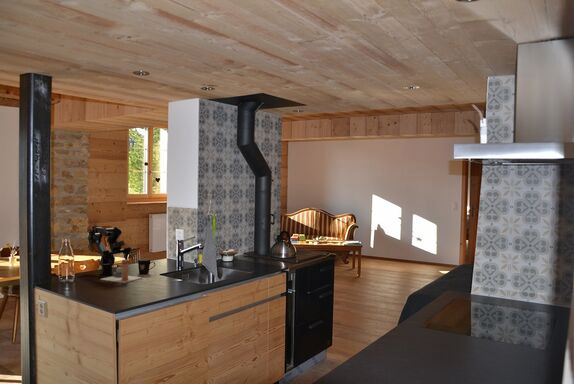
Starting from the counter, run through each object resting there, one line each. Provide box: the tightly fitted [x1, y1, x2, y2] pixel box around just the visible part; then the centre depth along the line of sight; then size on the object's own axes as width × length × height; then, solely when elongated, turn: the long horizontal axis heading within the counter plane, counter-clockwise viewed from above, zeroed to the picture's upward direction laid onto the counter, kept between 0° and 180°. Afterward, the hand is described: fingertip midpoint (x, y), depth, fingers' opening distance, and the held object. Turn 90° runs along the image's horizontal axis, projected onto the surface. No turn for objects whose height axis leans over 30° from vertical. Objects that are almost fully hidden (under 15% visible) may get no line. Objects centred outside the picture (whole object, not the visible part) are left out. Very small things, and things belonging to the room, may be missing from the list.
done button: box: [115, 266, 122, 273], centre depth 316 cm, size 4×4×4 cm
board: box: [100, 271, 143, 284], centre depth 310 cm, size 20×17×3 cm
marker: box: [121, 259, 130, 281], centre depth 303 cm, size 4×4×13 cm
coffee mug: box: [137, 258, 156, 276], centre depth 329 cm, size 12×9×10 cm
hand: (120, 263), depth 310 cm, fingers open, 9 cm apart
